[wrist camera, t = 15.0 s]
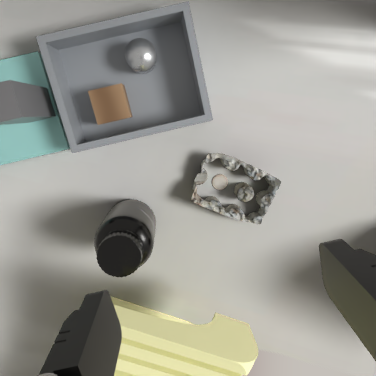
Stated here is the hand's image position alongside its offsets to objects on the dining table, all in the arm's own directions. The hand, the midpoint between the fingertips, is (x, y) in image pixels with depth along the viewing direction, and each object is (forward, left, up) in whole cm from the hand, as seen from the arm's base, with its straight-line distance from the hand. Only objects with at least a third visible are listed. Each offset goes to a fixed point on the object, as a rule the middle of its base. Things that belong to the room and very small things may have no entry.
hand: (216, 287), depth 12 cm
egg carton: (-2, +8, -34) cm, 35 cm away
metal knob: (-6, -12, -33) cm, 36 cm away
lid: (+12, -21, -34) cm, 41 cm away
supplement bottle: (+11, +1, -34) cm, 35 cm away
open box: (-3, -11, -34) cm, 36 cm away
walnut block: (0, -11, -33) cm, 35 cm away
